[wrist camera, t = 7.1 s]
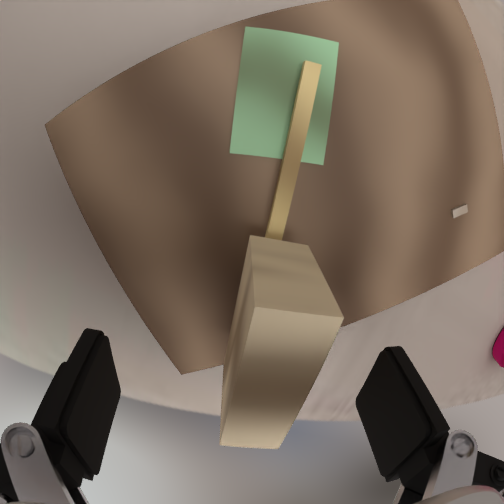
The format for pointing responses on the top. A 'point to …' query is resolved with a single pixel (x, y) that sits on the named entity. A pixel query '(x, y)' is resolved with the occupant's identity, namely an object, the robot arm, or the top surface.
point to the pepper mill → (499, 349)
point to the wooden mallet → (278, 312)
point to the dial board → (270, 158)
